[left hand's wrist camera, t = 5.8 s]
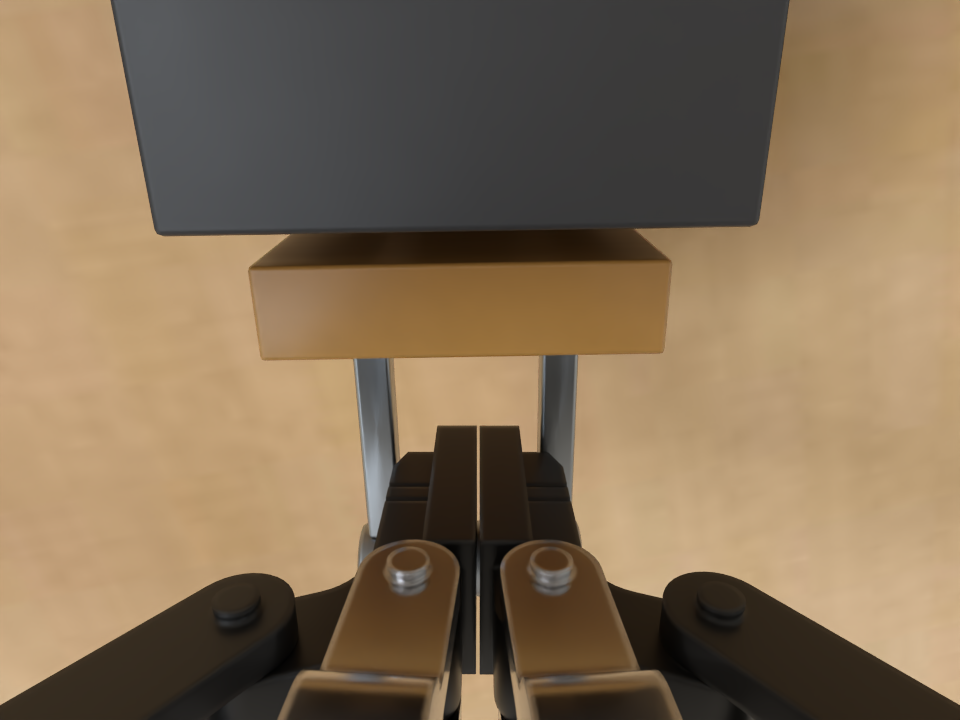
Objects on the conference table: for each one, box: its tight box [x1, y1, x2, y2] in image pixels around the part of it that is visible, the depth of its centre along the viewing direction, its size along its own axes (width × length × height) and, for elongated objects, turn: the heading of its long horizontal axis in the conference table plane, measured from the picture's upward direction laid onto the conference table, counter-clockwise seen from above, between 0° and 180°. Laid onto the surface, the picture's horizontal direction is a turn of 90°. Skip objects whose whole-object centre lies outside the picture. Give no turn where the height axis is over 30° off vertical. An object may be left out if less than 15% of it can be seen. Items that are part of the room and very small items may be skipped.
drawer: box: [248, 229, 672, 596], centre depth 11 cm, size 21×5×9 cm, turn 1°
